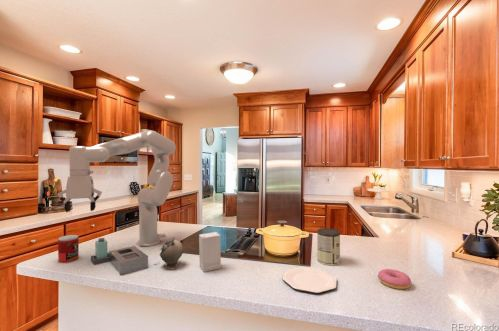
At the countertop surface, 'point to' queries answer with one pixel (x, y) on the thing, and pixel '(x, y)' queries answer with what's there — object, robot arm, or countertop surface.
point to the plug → (101, 248)
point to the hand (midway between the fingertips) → (80, 210)
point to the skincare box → (209, 251)
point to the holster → (102, 260)
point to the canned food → (68, 248)
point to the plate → (310, 280)
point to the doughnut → (394, 279)
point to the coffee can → (328, 246)
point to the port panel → (128, 259)
